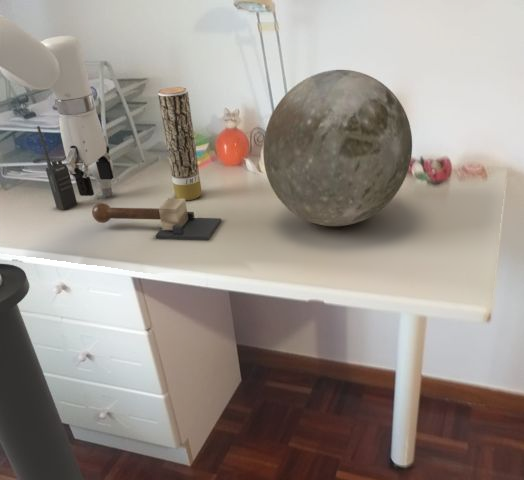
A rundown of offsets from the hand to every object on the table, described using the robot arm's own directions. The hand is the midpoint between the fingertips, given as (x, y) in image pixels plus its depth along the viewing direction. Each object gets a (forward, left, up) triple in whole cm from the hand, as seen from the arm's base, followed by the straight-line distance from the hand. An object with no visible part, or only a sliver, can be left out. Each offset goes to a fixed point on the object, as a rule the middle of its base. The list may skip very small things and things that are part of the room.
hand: (97, 186), depth 126 cm
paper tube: (+20, -13, -10) cm, 26 cm away
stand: (0, -19, -10) cm, 21 cm away
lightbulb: (+19, +9, -10) cm, 23 cm away
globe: (+7, -52, -10) cm, 54 cm away
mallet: (0, -8, -8) cm, 12 cm away
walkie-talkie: (+12, +17, -10) cm, 23 cm away
